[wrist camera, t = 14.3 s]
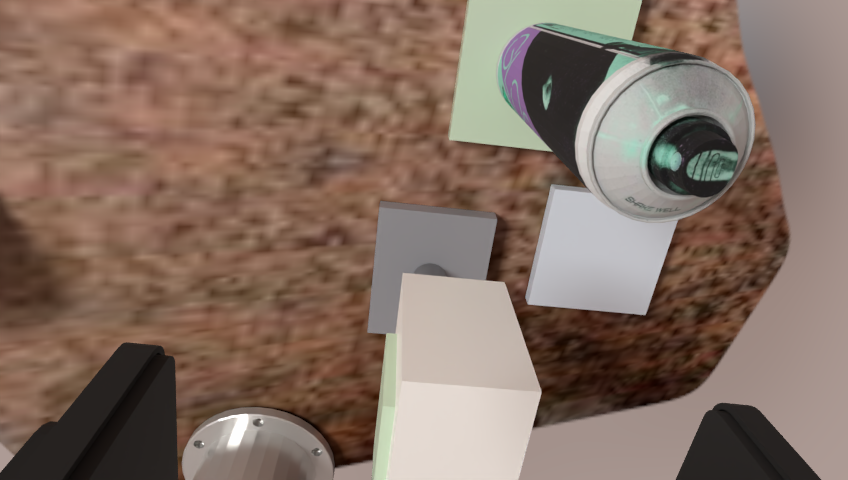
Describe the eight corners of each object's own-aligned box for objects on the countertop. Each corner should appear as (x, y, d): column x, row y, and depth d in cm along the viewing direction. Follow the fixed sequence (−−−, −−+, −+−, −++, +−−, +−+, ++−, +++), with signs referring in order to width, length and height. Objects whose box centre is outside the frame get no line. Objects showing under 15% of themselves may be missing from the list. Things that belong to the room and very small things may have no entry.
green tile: (596, 152, 37) (600, 157, 36) (447, 136, 36) (449, 139, 35) (638, -11, 32) (645, -11, 32) (472, -34, 32) (474, -35, 31)
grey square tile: (640, 308, 42) (645, 315, 41) (525, 297, 41) (527, 304, 40) (677, 197, 38) (683, 203, 37) (551, 184, 37) (554, 189, 37)
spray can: (481, 47, 33) (587, 122, 14) (568, 5, 32) (796, 28, 14) (514, 130, 35) (642, 285, 17) (596, 92, 34) (824, 212, 16)
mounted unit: (470, 343, 43) (517, 605, 25) (367, 334, 42) (338, 597, 24) (497, 199, 38) (582, 395, 20) (381, 187, 37) (358, 377, 19)
